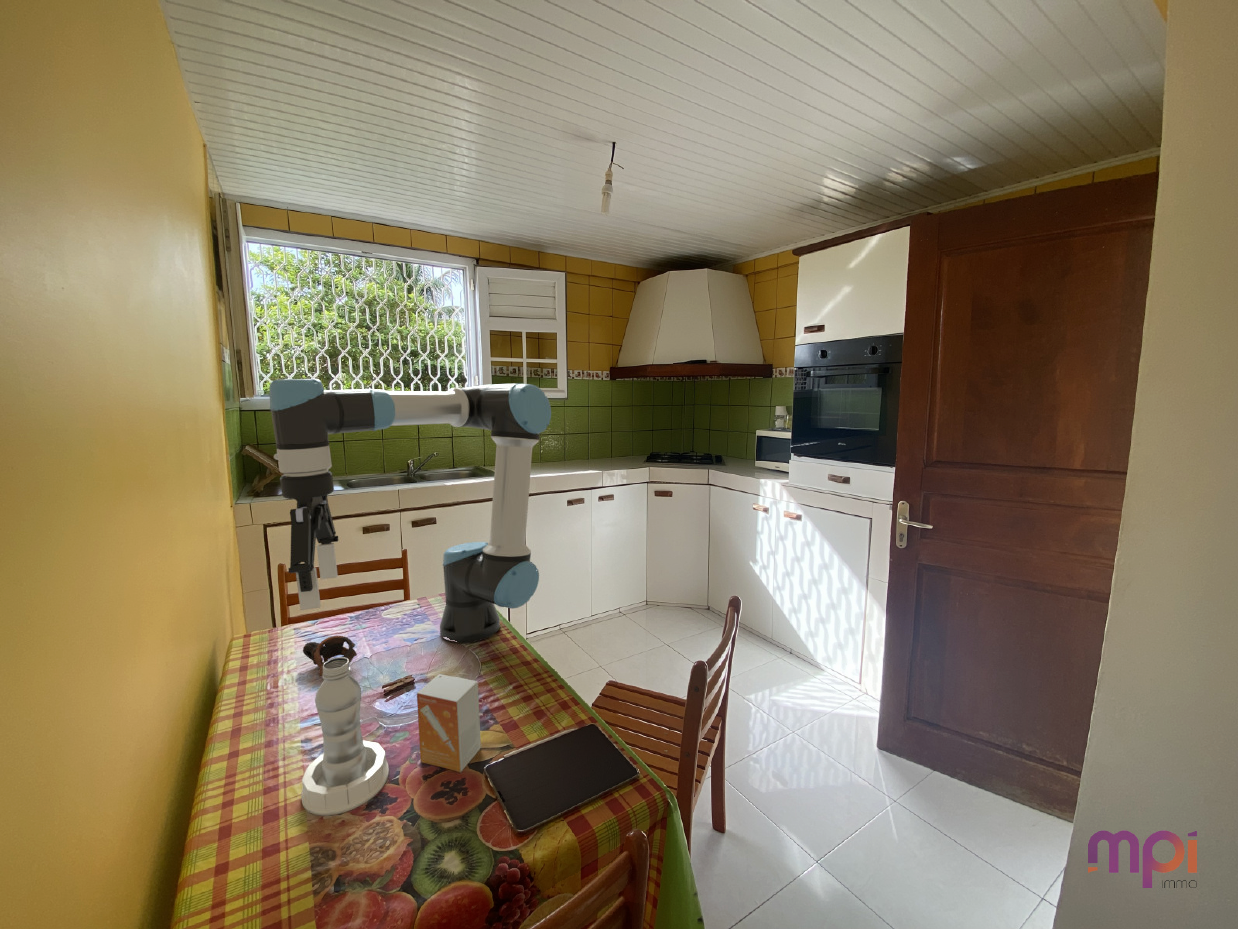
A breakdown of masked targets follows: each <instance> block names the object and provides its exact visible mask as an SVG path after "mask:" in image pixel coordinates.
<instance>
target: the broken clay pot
mask: <svg viewBox="0 0 1238 929" xmlns="http://www.w3.org/2000/svg"><path fill="white" fill-rule="evenodd" d="M345 643H346V644H347V645H348V648H347V647H346V646H344V644H345ZM355 647H356V644H355V643H354V642H353V641H352V640H351V639H350V638H349V637H347V636H342V635H334V636H333V635H332V636H328V637H326V638H325V639H323V640H322V641H320V642H317V641H316V642H315V641H313V642H311V641H309V642H307V643H305V645H304V646H303V647H302V648H303V649H302V653H303V654H304V656H306V657H307V658H308V659H309V660H311V661H312V662H313V665H314V666H317V667H318V669H319V670H318V676H319V677H321V678H323V675H322V674H323V664H324V663H325V662H327V661H328V660H331V659H333V658H336V657H337V656H342V657H344V658H347V659H348V660H349V664H350V663H351V662H352V660H353V659H354V658H355V657H358V653H357V651H356V650H355Z"/></svg>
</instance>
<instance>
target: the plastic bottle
mask: <svg viewBox="0 0 1238 929" xmlns="http://www.w3.org/2000/svg"><path fill="white" fill-rule="evenodd" d="M323 663H324V664H323V674H322V675H323V677H322V679H323V681H322V683H321V684H320V686H319V688H318V689H317V691H316V693H315V699H314V703H315V707H316V712H317V715H318V718H319V720H320V722H319V723H320V726H321V733H322V737H323V738H322V739H323V740H322V741H323V743H322V744H323V745H322V746H323V753H322V754H323V761H322V774H323V777H324V780H325V782H326V783H327V784H328V785H329V786H331V787H336V786H341V785H347V784H349V783H351V782H353V781H354V780H356V779H358V778H360V777H362V776H363V775H364V773H365V771H366V769H367V762H368V756H367V752H366V748H365V746H364V744H363V740H364V739H363V734H362V729H361V700H362V687H361V684H360V683H359V682H358V680H357V679H356V678H355V677H354V676H353V675H351V674H350V673H351V666H350V663H349V660H348V659H347V658H344V657H343V656H342V657H341V656H340V657H332V658H330V659H328V661H326V662H323Z"/></svg>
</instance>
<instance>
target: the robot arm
mask: <svg viewBox="0 0 1238 929" xmlns="http://www.w3.org/2000/svg"><path fill="white" fill-rule="evenodd" d="M268 394H269V409H270V410H269V411H270V412H271V418H272V426H273V432H274V438H275V440H274V441H275V448H276V453H275V454H274V455H273V459H274V460H277V461H278V471H279V472H280V473H282V474H283V475H281V477H280V478H279V481H280V483H279V484H280V487H281V488H280V490H281V495H282V497H283V498H285V499H287V500H295V501H296V508H293V509H292V508H291V509H290V511H289V515H290V564H289V565H290V567H288V573H289V574H295V579H296V585H297V593H298V601H299V607H300V608H299V609H300V611H304V610H305V611H306V610H313V609H320V608H321V598H320V591H319V580H318V572H317V568H316V567H315V554H316V553H317V562H318V569H319V570H318V571H319V578H320V580H328V579H337V578H338V576H339V575H338V566H337V558H336V549H335V543H337V542H339V536H338V535H337V533H336V532H337V531H336V529H335V523H334V521H333V516H332V512H331V508H330V505H329V501H328V500H329V499H328V495H331V494H332V493H333V492H334V491H335V487H334V486H335V485H334V479H333V472H331V470H329V469H331V468H332V467H333V465H332V457H331V456H332V455H331V449H330V441H329V435H334V434H335V435H336V434H343V433H345V434H346V433H356V432H368V431H369V432H370V431H372V432H376V431H378V430H385V429H389V427H392V426H395V427H396V426H417V425H419V426H420V425H437V424H439V425H441V424H442V425H443V424H449V425H450V426H452V427H453V428H454V427H455V428H463V427H464V428H474V429H480V430H481V429H482V430H487V431H490V438H491V439H492V441H493V442H494V443H495V445H496V449H495V462H494V465H495V466H494V479H493V491H492V492H493V493H492V501H491V502H492V503H491V504H492V505H491V506H492V507H491V520H490V532H489V542H486V541H472V542H471V541H469V542H465V543H460V544H456V545H453V546H450V547H448V548H447V549H446V550H445V551H444V552H443V557H442V558H443V559H442V567H443V580H444V581H443V582H444V596H445V597H444V598H445V605H444V610H443V613H442V616H441V620H440V624H439V633H440V637H441V636H442V637H447V638H449V639H450V640H455V641H457V642H459V643H458V644H464V643H465V644H467V643H474V642H478V641H482V640H485V639H488V638H490V637H491V636H493V635H495V634H496V633H497V632H498V631H499V630H500V628H501V627H500V626H501V625H500V616H499V613H498V611H497V608H496V606H498V607H499V608H507V609H518V608H520V607H522V606H524V605H526V604H527V603H528V602H529V601H530V600H531V598H532V597H533V596H534V595H535V592H536V591H537V587H538V585H539V581H540V572H539V571H540V570H539V569H538V568H537V565H536V564H534V562H533V561H531V554H532V550H531V549H530V548H529V546H527V545H526V539H527V538H526V536H527V527H528V525H527V523H528V522H527V521H528V512H529V511H528V510H529V495H530V483H531V471H532V456H533V448H534V446H535V445H536V444H538V443H539V442H540V433H543V432H545V431H546V430H547V428H548V426H549V425H550V423H551V419H552V407H551V404H550V400H549V398H548V396H546V393H545V391H543V390H542V389H541V388H540V387H539V386H537V385H534V384H530V383H520V382H518V383H517V382H516V383H498V384H496V383H490V384H483V385H482V384H481V385H475V386H469V387H452V388H450V389H449V390H447V391H420V390H419V391H414V390H413V391H410V390H409V391H407V390H406V391H405V390H385V389H372V388H365V389H331V390H330V389H325V388H324V386H323V382H322V381H321V380H320V379H318V378H286V379H285V378H283V379H274V380H273V381H271V382H270V384H269V393H268ZM316 540H317V542H316ZM316 543H318V544H317V545H316ZM315 552H316V553H315ZM495 605H496V606H495ZM442 637H441V638H442Z"/></svg>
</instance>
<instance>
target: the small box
mask: <svg viewBox="0 0 1238 929" xmlns="http://www.w3.org/2000/svg"><path fill="white" fill-rule="evenodd" d="M479 700H480V699H479V681H477V680H472V679H467V678H464V677H459V676H453V675H446V674H442V673H438V674H437V675H436V676H435V677H434V678H433V679H431V680H430V681H429V682H427V683H426V685H424V686H423V687H422V688H421V689H420V690H418V691H417V692H416V702H417V704H416V705H417V706H416V707H417V719H418V720H417V722H418V737H419V738H418V740H419V756H420V762H421V763H423V764H426V765H427V764H428V765H432V766H437V767H440V768H443V769H448V770H451V771H455V772H457V773H462V772H463V770H465V768H466V767H467V765H468V764H469V763H470V762H471V761H472V759H473V758H474V757H475V756H476V755H477V753H478V752H479V751H480V750H481V746H482V745H481V744H482V743H481V741H482V740H481V722H480V702H479Z"/></svg>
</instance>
